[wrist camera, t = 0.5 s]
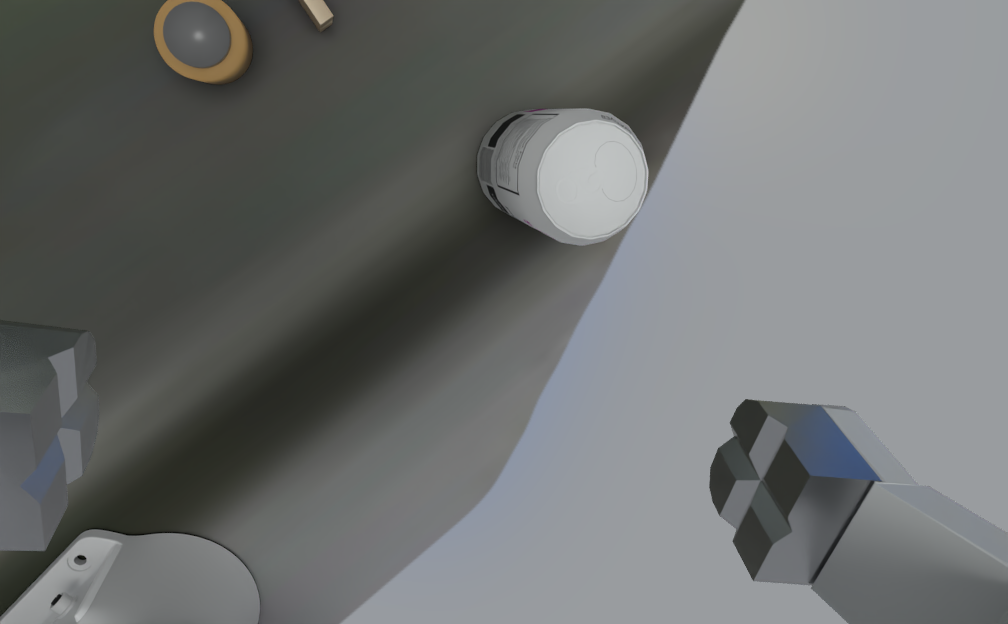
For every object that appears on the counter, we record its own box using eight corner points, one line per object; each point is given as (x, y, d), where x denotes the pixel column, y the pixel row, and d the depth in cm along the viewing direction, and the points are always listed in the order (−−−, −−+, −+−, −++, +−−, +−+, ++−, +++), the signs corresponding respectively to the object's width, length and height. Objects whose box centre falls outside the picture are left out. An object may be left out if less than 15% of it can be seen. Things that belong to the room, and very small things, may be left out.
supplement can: (558, 94, 58) (636, 88, 44) (588, 195, 60) (672, 221, 46) (460, 130, 57) (508, 136, 43) (495, 232, 59) (551, 269, 45)
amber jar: (208, 99, 52) (189, 96, 44) (158, 33, 50) (130, 19, 43) (268, 58, 52) (259, 49, 45) (220, -8, 51) (203, -30, 43)
